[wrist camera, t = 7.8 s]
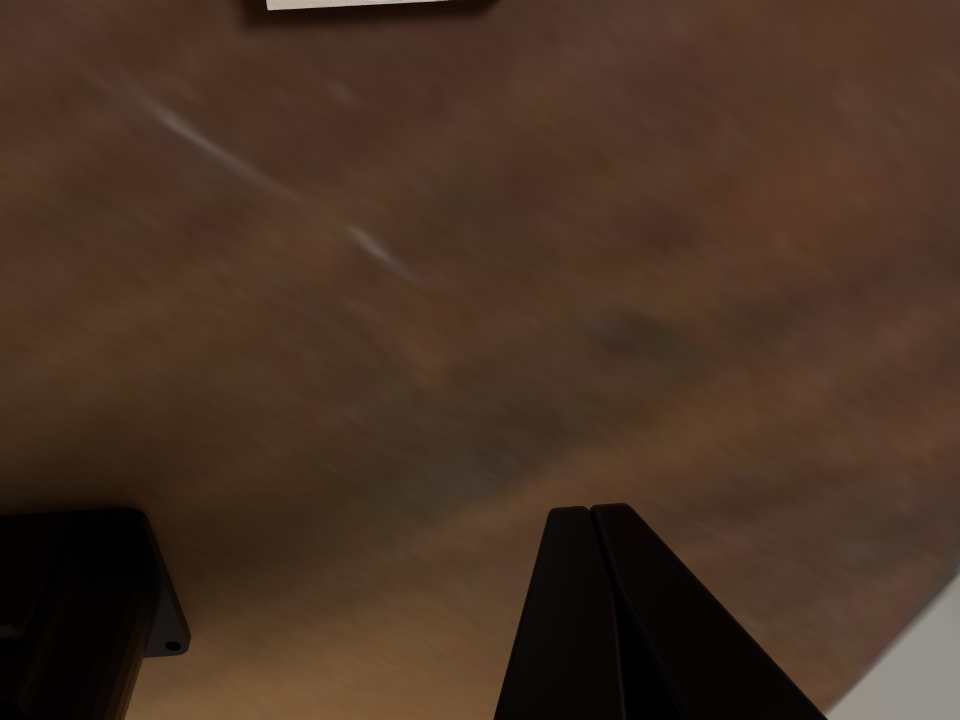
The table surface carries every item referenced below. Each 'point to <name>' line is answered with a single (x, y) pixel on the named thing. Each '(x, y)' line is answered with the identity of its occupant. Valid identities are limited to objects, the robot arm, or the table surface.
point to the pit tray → (329, 3)
